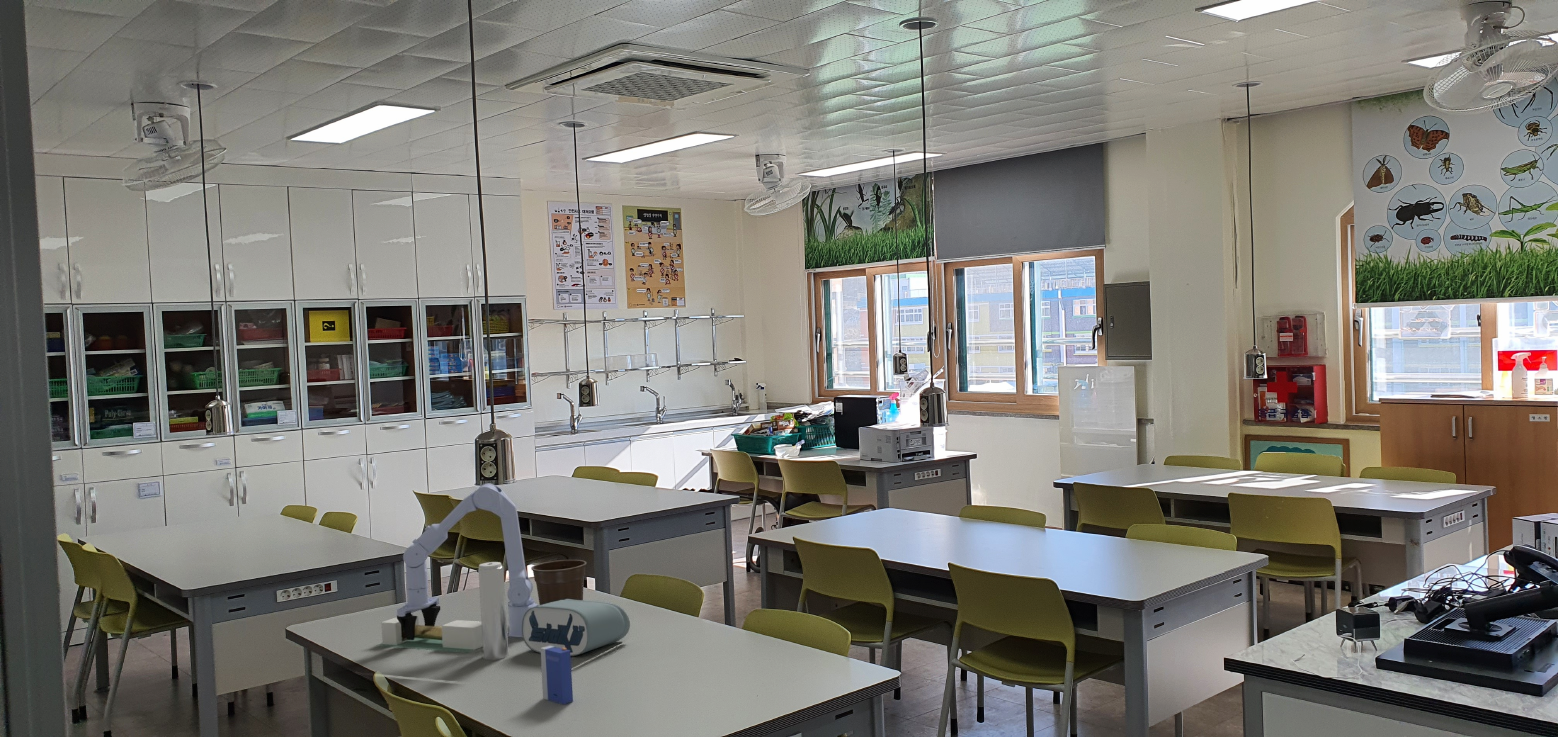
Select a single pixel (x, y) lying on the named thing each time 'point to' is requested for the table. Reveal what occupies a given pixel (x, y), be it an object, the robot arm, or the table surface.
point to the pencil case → (574, 625)
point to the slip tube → (426, 632)
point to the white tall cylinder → (493, 610)
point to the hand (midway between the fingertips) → (420, 635)
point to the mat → (427, 645)
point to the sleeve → (462, 634)
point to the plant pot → (559, 580)
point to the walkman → (556, 674)
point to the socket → (393, 632)
